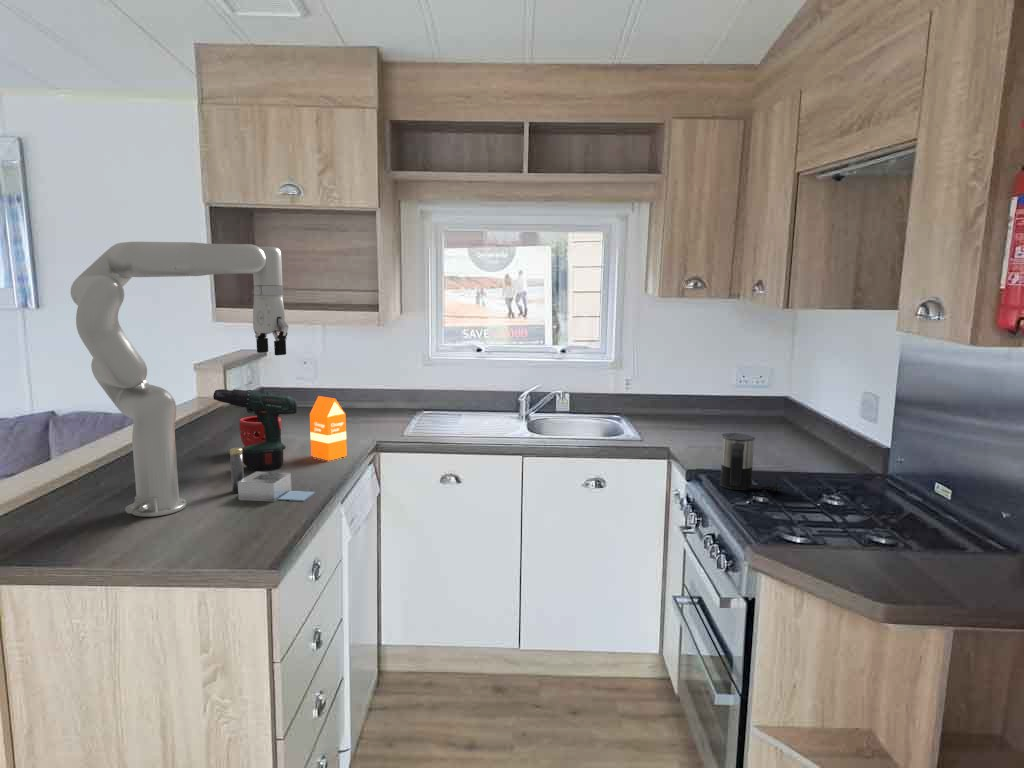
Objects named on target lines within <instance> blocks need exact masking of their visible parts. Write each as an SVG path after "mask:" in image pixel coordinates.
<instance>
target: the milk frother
mask: <svg viewBox="0 0 1024 768" xmlns="http://www.w3.org/2000/svg"><path fill="white" fill-rule="evenodd" d="M721 438H722V443H721V444H722V448H721V461H720V463H721V464H720V475H719V483H718V485H719V486H720V487H722V488H725V489H728V490H735V491H748V490H751V489H753V488H754V489H769V491H770V492H771V493H773V492H775V493H776V492H778V489H784V487H783V485H780V484H778V483H777V482H776V481H775V482H769V483H760V484H758V483H757V484H753V464H754V462H753V461H754V460H753V459H754V449H755V448H754V445H755V440H756V436H755V435H752V434H748V433H740V432H739V433H736V432H727V433H726V432H725V433H722V434H721Z"/></svg>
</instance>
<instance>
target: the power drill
mask: <svg viewBox="0 0 1024 768" xmlns="http://www.w3.org/2000/svg"><path fill="white" fill-rule="evenodd" d="M212 398H213V400H214V401H218V402H219V403H225V404H230V405H232V406H236V407H241V408H245V409H246V411H247V413H248V414H254V415H255V416H257V418H258V420H257V421H258V422H261V423H262V424H263V425H264V430H265V437H266V438H265V441H264V442H262V443H257V444H253V445H249V446H246V447H245V446H244V447H245V448H244V447H243V448H244V449H243V465H245V466H246V467H247V468H249V469H250V470H251V471H253V472H256V471H266V470H268V471H269V470H275V468H278V469H280V467H282V466H283V465H284V450H285V449H286V445H285V444H283V443H282V429H281V430H280V425H279V421H278V417H279V415H294V414H297V413H298V403H297V399H296V398H294V397H291V396H290V395H288V394H281V393H272V392H269V391H267V392H266V391H257V390H251V389H247V390H244V389H236V388H234V389H232V390H231V389H223V388H222V389H220V388H219V389H215V391H214V392H213V396H212Z"/></svg>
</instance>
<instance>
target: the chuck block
mask: <svg viewBox="0 0 1024 768" xmlns="http://www.w3.org/2000/svg"><path fill="white" fill-rule="evenodd" d="M291 474H292V473H291V472H279V471H278V472H276V471H261V470H257V471H253V473H251V474H249V475H247V476H246V477H245V476H244V479H242V480H240V481H238V493H237V494H238V500H239V501H250V502H252V501H254V502H268V503H269V502H270V503H271V502H272V503H275V502H276V501H279V498H280V497H282V496H283V495H285V494H286V493H288V492H289V491H292V475H291Z"/></svg>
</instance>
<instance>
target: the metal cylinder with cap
mask: <svg viewBox="0 0 1024 768" xmlns="http://www.w3.org/2000/svg"><path fill="white" fill-rule="evenodd" d="M242 448H243V447H231V448H230V449H229V457H230V459H229V460H230V477H231V492H232V493H234V494H238V481H240V480H242V479H244V478H245V473H244V471H245V470H244V463H243V450H242Z"/></svg>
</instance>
